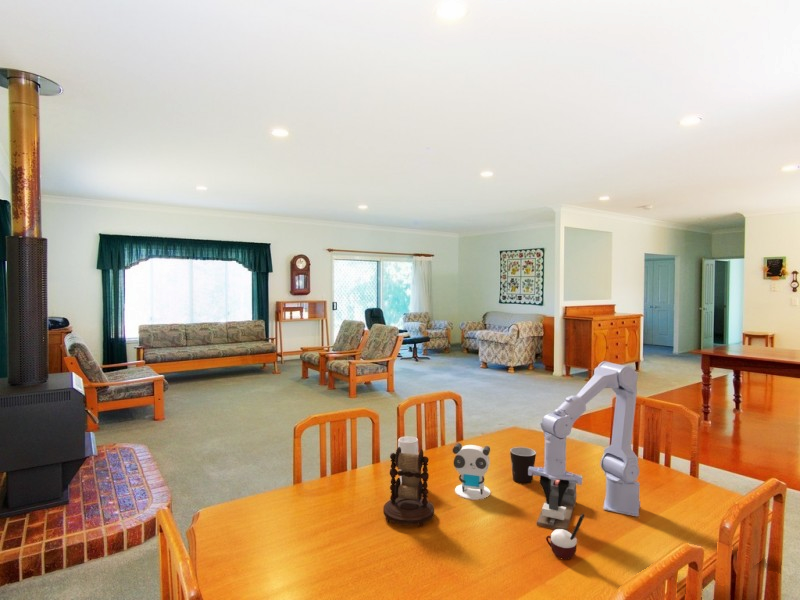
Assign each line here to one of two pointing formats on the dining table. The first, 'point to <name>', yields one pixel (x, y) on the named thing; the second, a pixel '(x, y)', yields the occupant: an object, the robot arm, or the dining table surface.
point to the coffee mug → (522, 464)
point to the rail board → (567, 502)
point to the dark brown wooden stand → (409, 490)
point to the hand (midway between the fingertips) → (554, 504)
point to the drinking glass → (408, 446)
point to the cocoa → (564, 541)
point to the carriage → (553, 507)
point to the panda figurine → (471, 470)
